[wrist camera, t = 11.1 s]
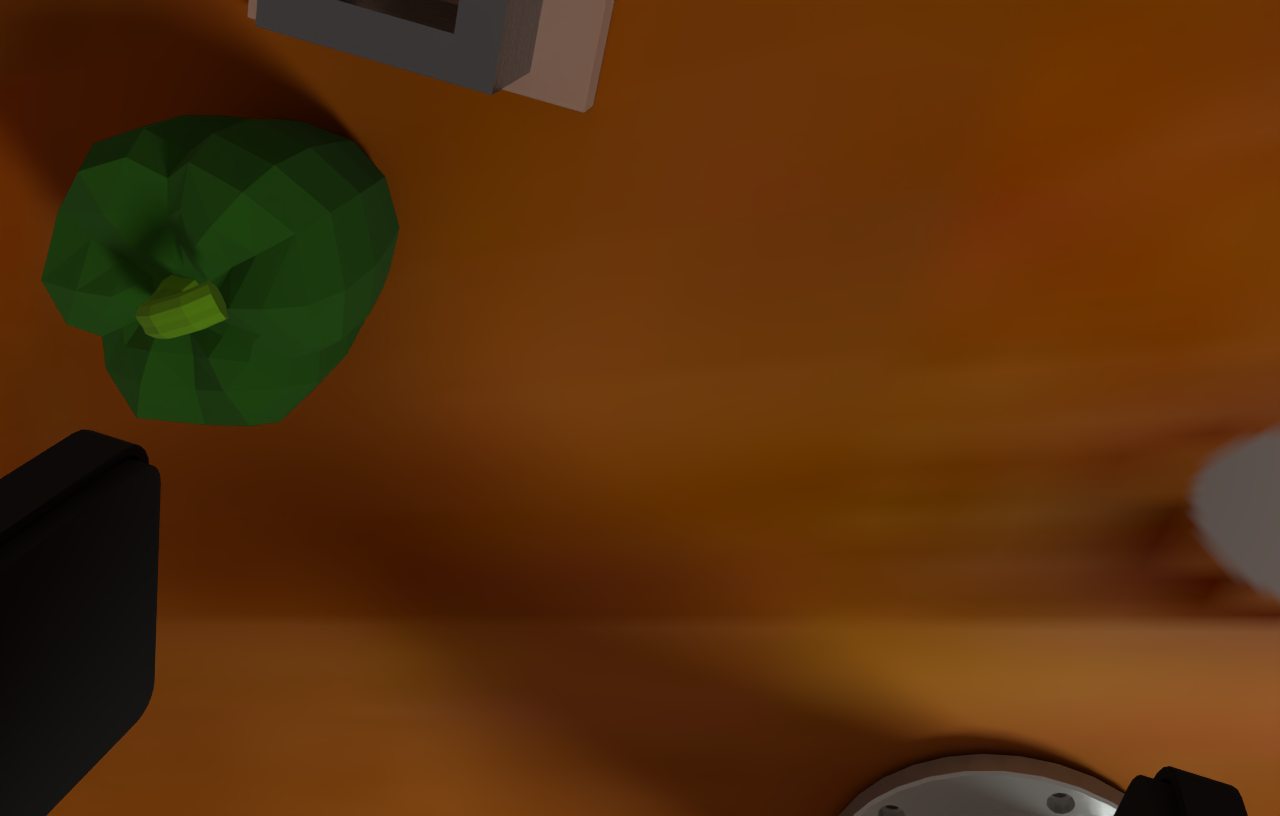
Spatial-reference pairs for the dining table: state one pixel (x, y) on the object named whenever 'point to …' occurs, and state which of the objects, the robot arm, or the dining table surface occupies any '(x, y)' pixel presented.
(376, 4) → the dark grey rectangular frame
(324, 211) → the bell pepper
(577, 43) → the keeper
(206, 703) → the dining table surface
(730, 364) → the dining table surface
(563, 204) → the dining table surface
